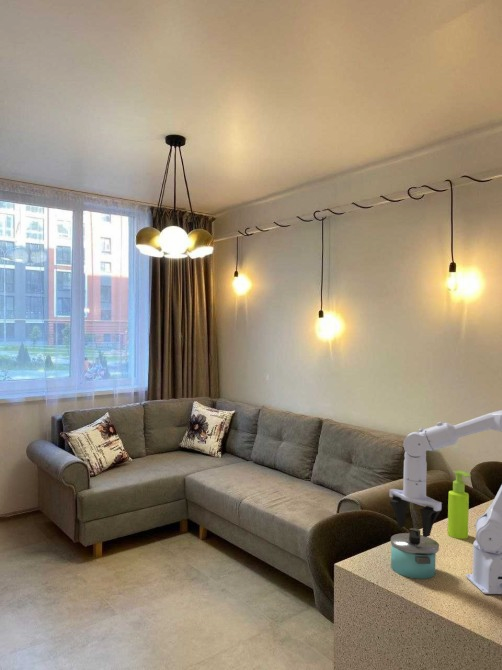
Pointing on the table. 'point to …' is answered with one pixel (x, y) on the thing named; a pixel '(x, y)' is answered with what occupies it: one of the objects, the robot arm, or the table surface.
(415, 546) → the lid
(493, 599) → the table surface
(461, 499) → the soap dispenser
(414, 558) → the pot
